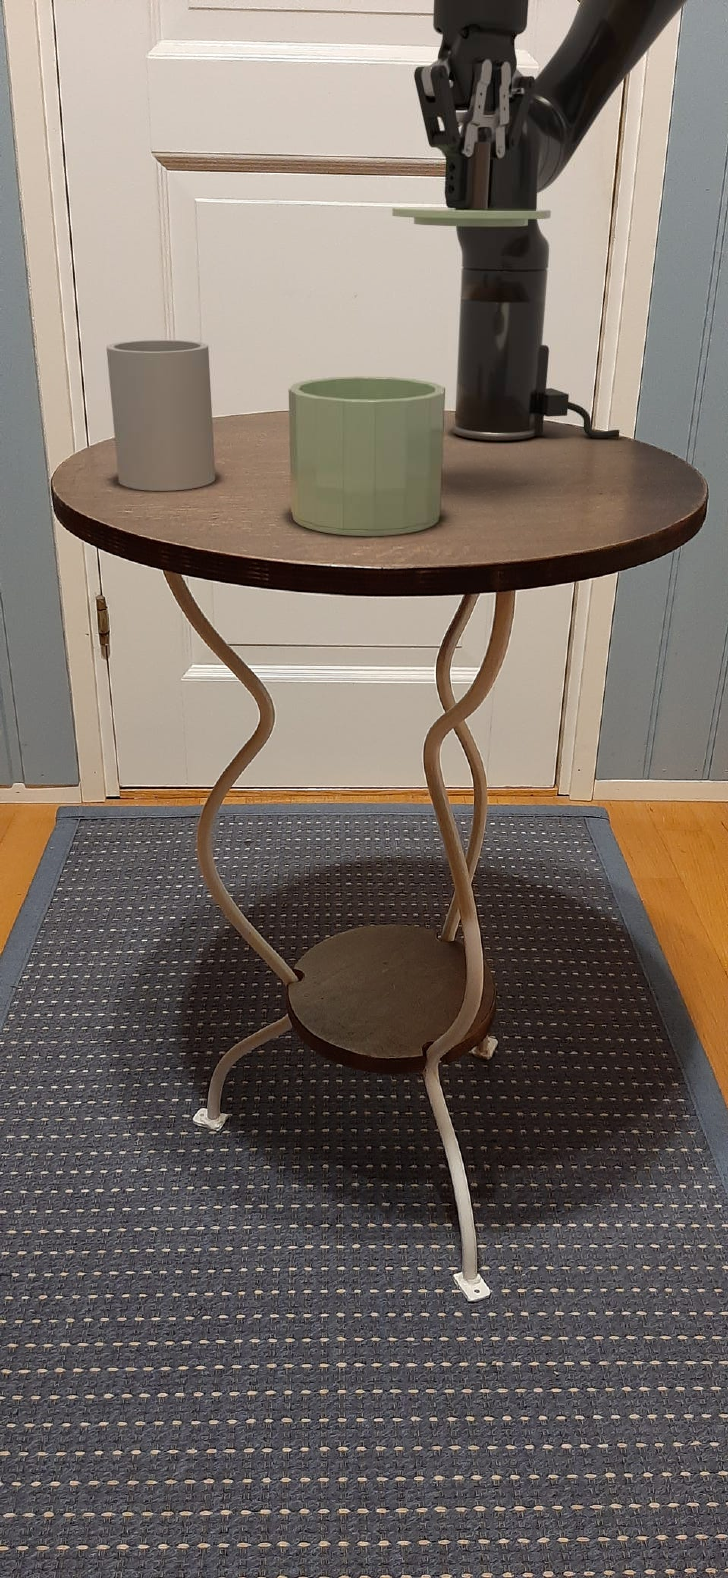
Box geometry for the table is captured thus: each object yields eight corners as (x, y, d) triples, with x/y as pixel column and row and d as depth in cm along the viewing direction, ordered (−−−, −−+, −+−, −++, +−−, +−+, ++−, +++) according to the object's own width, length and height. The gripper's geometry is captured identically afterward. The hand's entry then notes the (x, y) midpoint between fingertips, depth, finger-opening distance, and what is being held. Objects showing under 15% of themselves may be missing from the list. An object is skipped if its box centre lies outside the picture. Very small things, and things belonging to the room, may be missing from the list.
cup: (121, 492, 105) (108, 353, 99) (116, 471, 113) (104, 341, 107) (220, 488, 107) (213, 351, 101) (209, 467, 115) (202, 339, 109)
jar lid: (510, 222, 106) (515, 145, 104) (577, 227, 95) (585, 141, 92) (371, 221, 103) (372, 142, 100) (423, 227, 91) (426, 137, 88)
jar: (411, 494, 105) (414, 374, 100) (461, 530, 95) (468, 397, 90) (277, 503, 102) (274, 379, 97) (314, 541, 91) (312, 404, 87)
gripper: (465, -57, 83) (453, 210, 92) (572, -32, 93) (553, 208, 101) (388, -46, 88) (383, 207, 96) (498, -23, 97) (485, 206, 105)
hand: (470, 206), depth 98 cm, fingers closed on jar lid, 3 cm apart
